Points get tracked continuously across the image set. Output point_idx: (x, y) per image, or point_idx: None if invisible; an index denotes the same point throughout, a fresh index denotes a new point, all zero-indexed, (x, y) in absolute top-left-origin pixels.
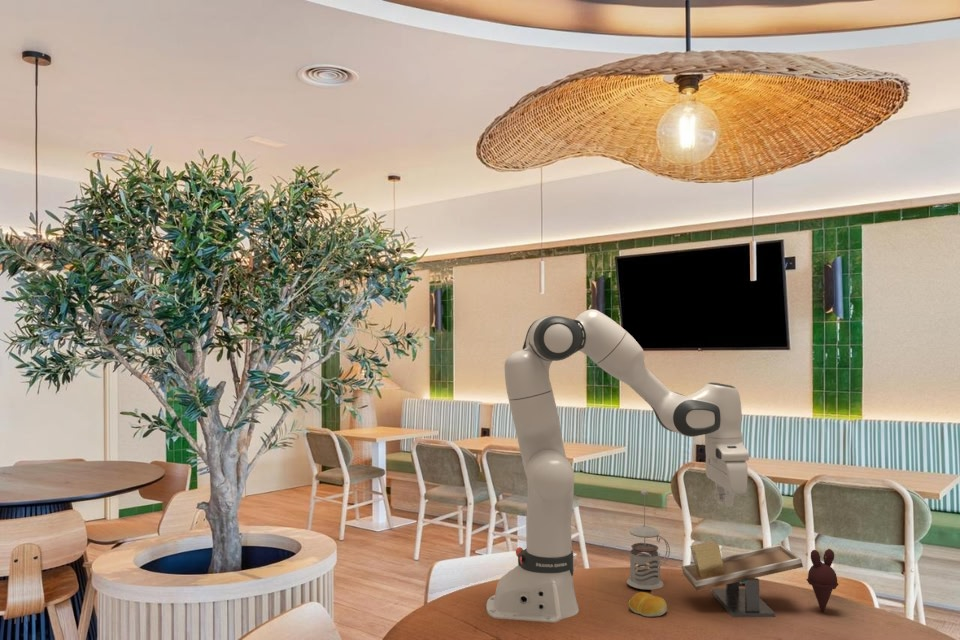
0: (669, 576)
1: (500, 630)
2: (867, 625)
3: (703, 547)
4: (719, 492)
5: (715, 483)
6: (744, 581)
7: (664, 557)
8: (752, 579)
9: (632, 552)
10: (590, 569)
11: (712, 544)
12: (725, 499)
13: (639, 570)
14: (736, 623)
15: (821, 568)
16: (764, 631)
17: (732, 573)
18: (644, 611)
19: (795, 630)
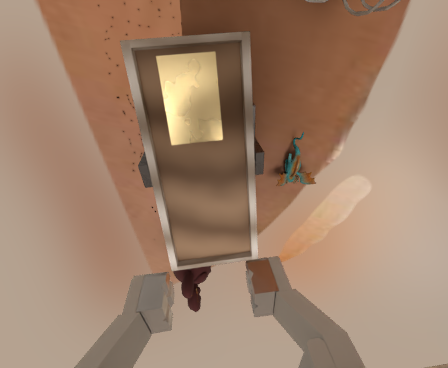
0: (352, 31)
1: None
2: (160, 254)
3: (176, 94)
4: (282, 305)
5: (356, 358)
6: (285, 166)
7: (364, 2)
8: (144, 177)
9: None
10: None
11: (190, 129)
12: (136, 309)
13: None
14: (118, 114)
15: (180, 276)
16: (99, 149)
17: (147, 145)
18: None
19: (119, 188)
